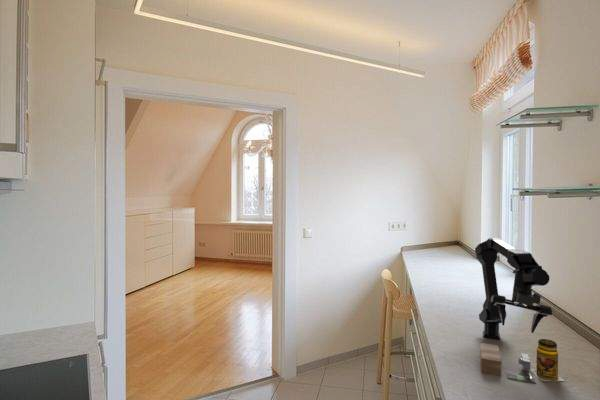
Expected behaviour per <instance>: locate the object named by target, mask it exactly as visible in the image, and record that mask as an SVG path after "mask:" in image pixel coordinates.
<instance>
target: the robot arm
mask: <svg viewBox="0 0 600 400" xmlns="http://www.w3.org/2000/svg"><path fill="white" fill-rule="evenodd" d="M474 253H475V255H476V259H477V261H478V262H479V263H480V265H481V268H482V269H481V270H482V276H483V285H484V293H485V300H484V302H483V304H482V310H481V311H480V313H479V314H478V319H479V321H481V322H482V323H483V325H484V326H483V331H482V335H483V336H482V337H483V338H489V339H495V340H501V334H500V324H501V325H502V326H505V324H506V323H505V322H506V319H507V310H506V307H507V306H506V305H508V306H514V307H518V308H521V309H526V310H530V311H534V312H535V313H533V317H532V322H531V323H532V324H531V327H530V332H531V334H534V333H535V331H536V328H537V327H538V325H539V323H540V321H542V319H543V318H547V317H549V316H553V308H552V306H547V305H543V304H541V298H542V296H541V294H540V293H536V292H534V293H533V289H532V288H533V287H540V286H541V287H542V286H547V285H548V284H549V282H550V275H549V273H548V272H547V271H546V270H544V269H543V267H542V265H540V264H539V263H538V262H537V260H535V258H534V257H533V254H532V253H531V252H529V251H526V250H521V249H518V248H515V247H513V246H512V245H510V244H509V243H507V242H505V241H503V239H502V238H500V237H490V238H488V239H486V240H485V241H483V242H480V243H479V244H477V246H476V247H475V248H474ZM498 254H500V255H502V256H503V257H505V258H506V262H507V263H508V264H509V265H510V267H512V268H514V270H513V271H512V274H514V280H513V287H512V297H511V299H509V298H506V296H505V295H500V294H499V289H498V283H497V274H496V269H495V263H496V262H497V260H498ZM534 304H536V305H534Z"/></svg>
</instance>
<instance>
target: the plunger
mask: <svg viewBox="0 0 600 400" xmlns="http://www.w3.org/2000/svg"><path fill="white" fill-rule="evenodd" d="M518 365H521V369H522V370H523V372H527V373H528V377H530V380H532V378H533V377H532V375H531V371H530V369H531V361H530V357H529V355H528V353H523V352H521V353H520V357H519V358H518Z"/></svg>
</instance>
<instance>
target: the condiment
mask: <svg viewBox="0 0 600 400" xmlns="http://www.w3.org/2000/svg"><path fill="white" fill-rule="evenodd" d="M537 343H538V345H537V348H536V362H535V363H536V364H535V365H536V368H530V373H532V374H533V375H535V377H537V378H538V379H540V380H541V381H542V382H565V380H564V379H563V378H562V377H560V376H559V352H558V344H557V342H556V341H554V340H550V339H548V338H546V339H545V338H541V339H539V340H538V341H537Z"/></svg>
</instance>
